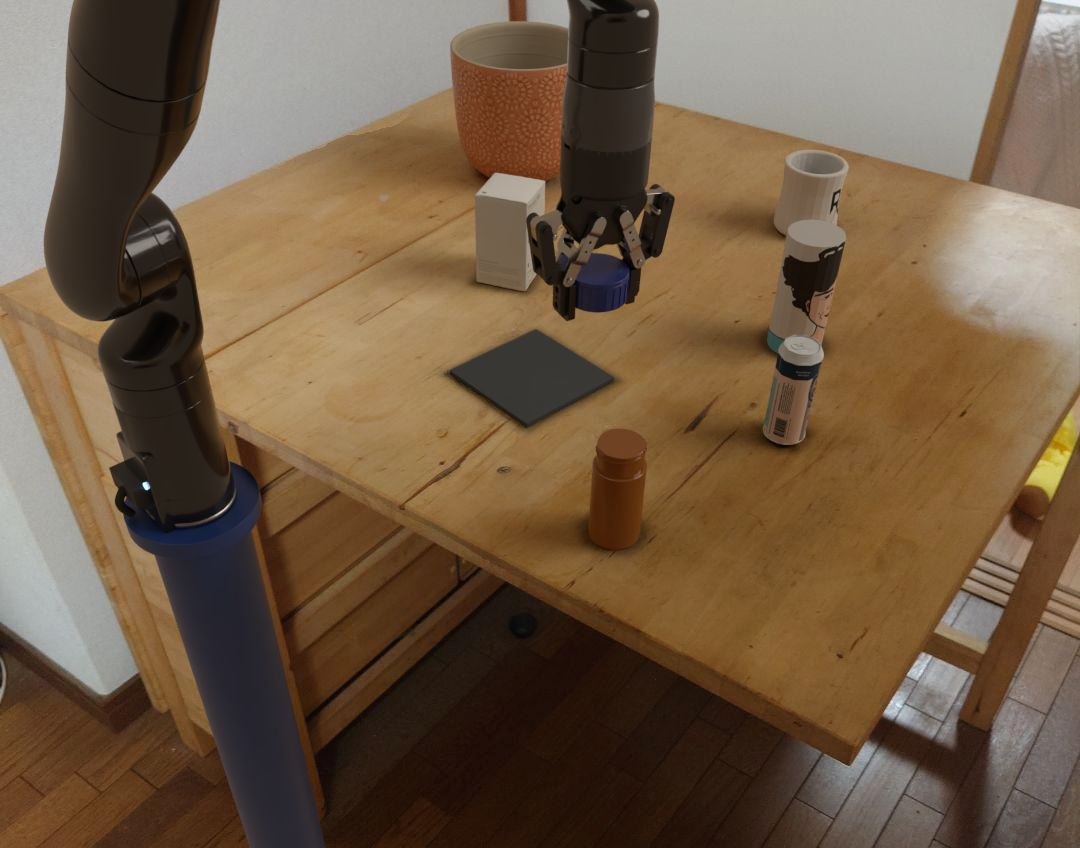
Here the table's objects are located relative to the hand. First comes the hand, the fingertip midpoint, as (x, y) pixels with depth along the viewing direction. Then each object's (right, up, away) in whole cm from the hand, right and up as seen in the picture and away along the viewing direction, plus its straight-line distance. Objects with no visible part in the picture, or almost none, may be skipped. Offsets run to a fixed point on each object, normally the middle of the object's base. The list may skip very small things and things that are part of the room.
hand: (595, 307), depth 99 cm
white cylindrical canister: (+27, +3, +35) cm, 44 cm away
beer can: (+22, -10, +21) cm, 32 cm away
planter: (-8, +37, +70) cm, 80 cm away
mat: (-6, -2, +29) cm, 29 cm away
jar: (+2, -21, +9) cm, 23 cm away
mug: (+34, +25, +59) cm, 72 cm away
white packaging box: (-9, +14, +46) cm, 49 cm away
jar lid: (0, +3, -2) cm, 4 cm away
